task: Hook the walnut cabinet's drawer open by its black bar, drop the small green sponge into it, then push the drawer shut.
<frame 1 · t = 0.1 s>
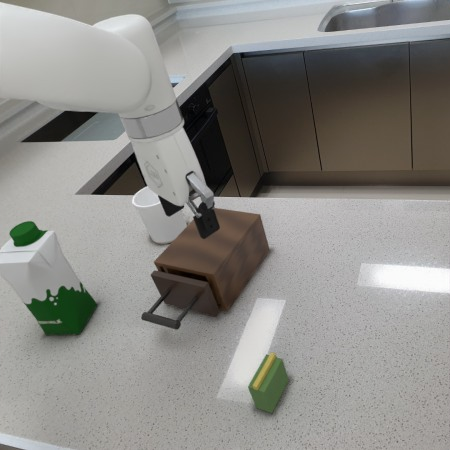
hand: (192, 222, 70), 19 cm above the table, tool pointing down, fingers open, 9 cm apart
green sponge: (272, 393, 66), on the table
milk carton: (72, 320, 85), on the table
drawer: (197, 278, 82), point 5 cm above the table, slide at 1.0 cm
cabinet: (222, 273, 88), on the table
mug: (168, 231, 103), on the table
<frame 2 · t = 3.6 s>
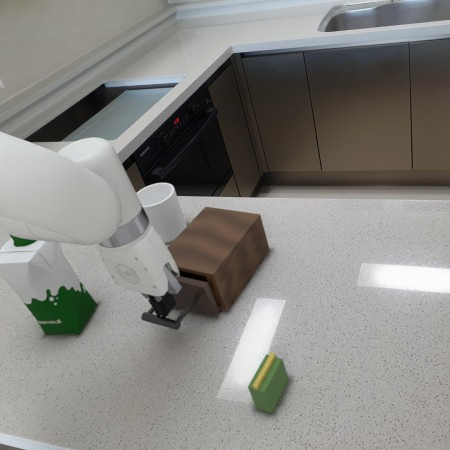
hand: (166, 309, 75), 5 cm above the table, tool pointing down, fingers closed
drawer: (197, 278, 82), point 5 cm above the table, slide at 1.1 cm, touching gripper
everything else where it was.
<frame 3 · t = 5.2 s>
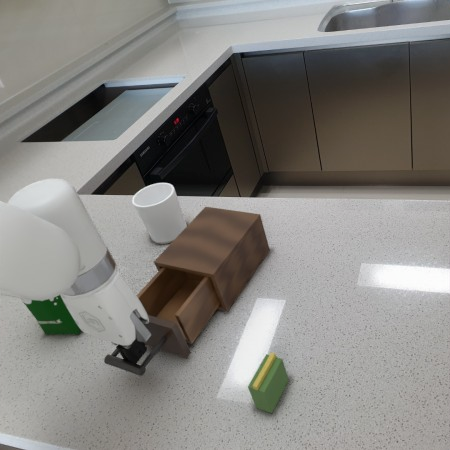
hand: (137, 356, 70), 4 cm above the table, tool pointing down, fingers closed
drawer: (167, 314, 76), point 5 cm above the table, slide at 9.8 cm
everything else where it was.
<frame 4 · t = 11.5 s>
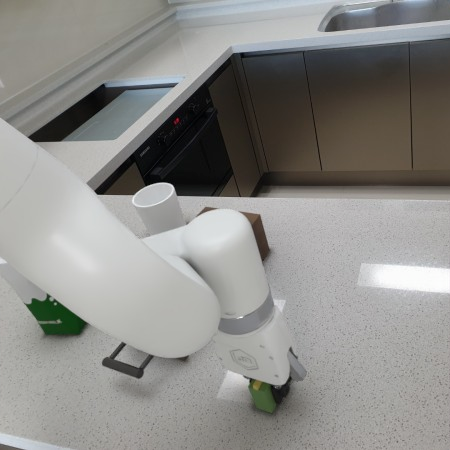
hand: (272, 391, 66), 1 cm above the table, tool pointing down, fingers closed on green sponge, 2 cm apart
green sponge: (272, 393, 66), on the table, touching gripper
drawer: (166, 317, 75), point 5 cm above the table, slide at 10.2 cm
everything else where it was.
when the fingers open (10 cm above the table, at t = 16.4 s): green sponge drops 8 cm, resting on drawer.
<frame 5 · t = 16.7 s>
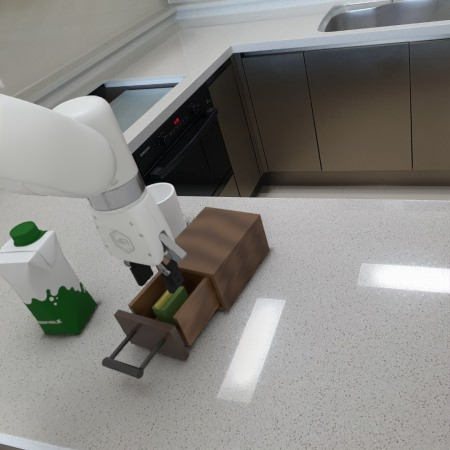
hand: (161, 282, 73), 10 cm above the table, tool pointing down, fingers open, 5 cm apart
green sponge: (178, 318, 78), point 2 cm above the table, touching drawer
drawer: (166, 317, 75), point 5 cm above the table, slide at 10.2 cm, touching green sponge
everything else where it was.
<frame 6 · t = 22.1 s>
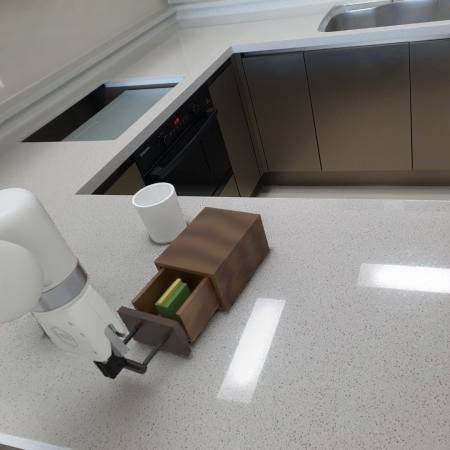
hand: (116, 369, 67), 6 cm above the table, tool pointing down, fingers closed
drawer: (168, 313, 76), point 5 cm above the table, slide at 9.5 cm, touching green sponge, gripper
everything else where it was.
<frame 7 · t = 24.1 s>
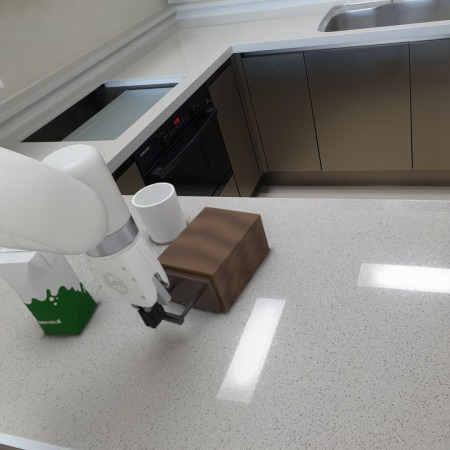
hand: (156, 320, 73), 6 cm above the table, tool pointing down, fingers closed
green sponge: (210, 276, 85), point 2 cm above the table, touching drawer
drawer: (200, 274, 82), point 5 cm above the table, slide at 0.0 cm, touching cabinet, green sponge, gripper
everything else where it was.
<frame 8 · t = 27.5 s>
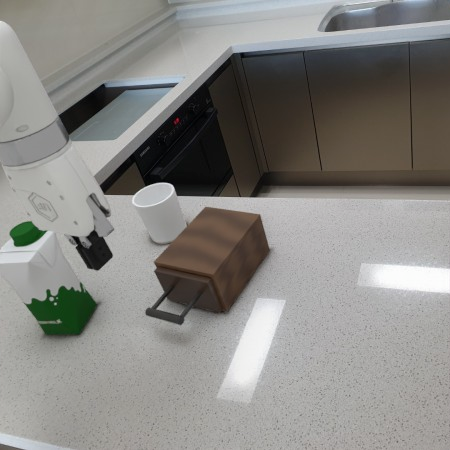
hand: (101, 262, 62), 21 cm above the table, tool pointing down, fingers closed
drawer: (200, 274, 82), point 5 cm above the table, slide at 0.0 cm, touching cabinet, green sponge
everything else where it was.
at the end: drawer pulled out 10.2 cm at the most during the clip, back to where it started at the end; green sponge inside the target area in the cabinet (3.0 cm from its centre), point 2.0 cm above the cabinet's base; drawer slide at 0.0 cm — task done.
